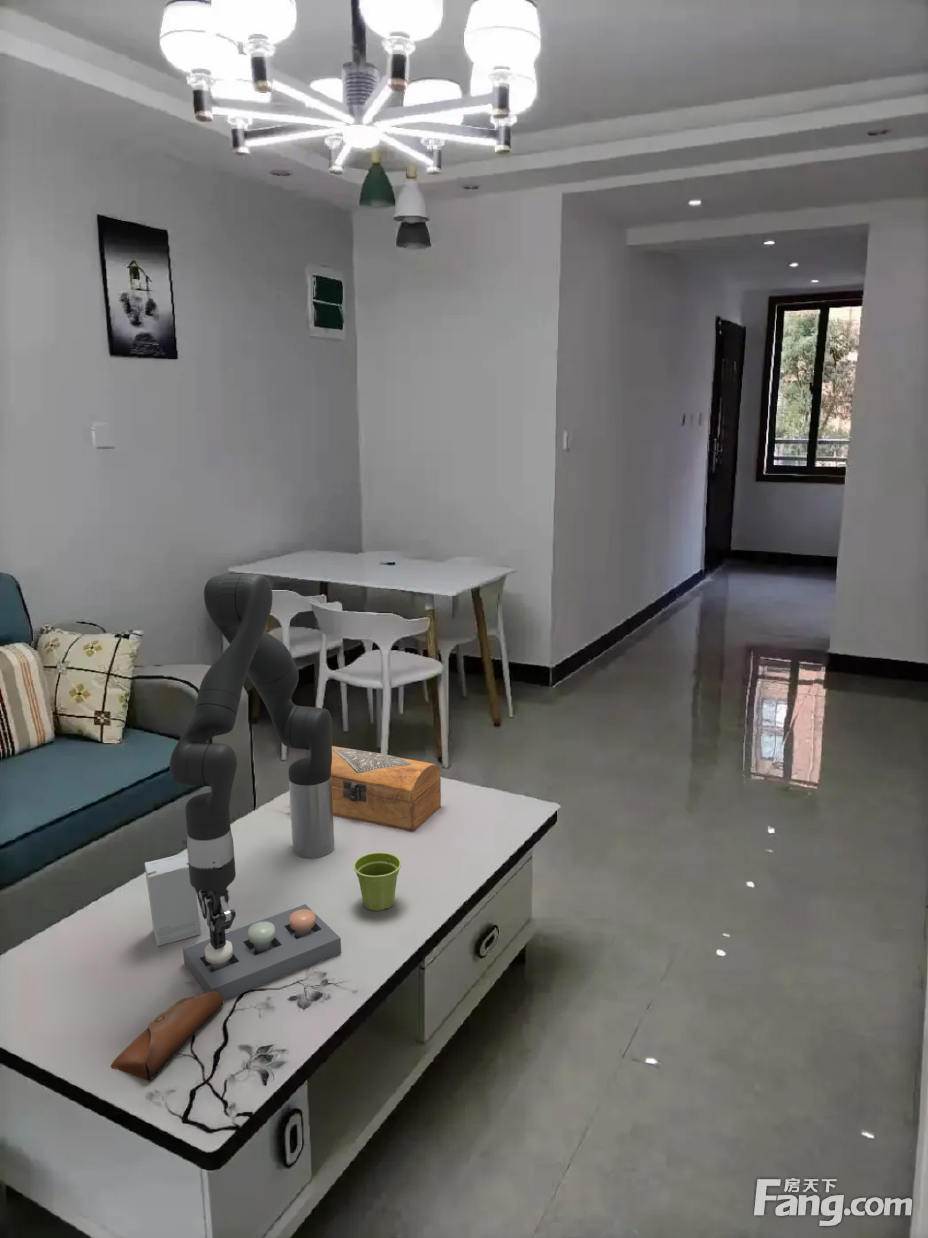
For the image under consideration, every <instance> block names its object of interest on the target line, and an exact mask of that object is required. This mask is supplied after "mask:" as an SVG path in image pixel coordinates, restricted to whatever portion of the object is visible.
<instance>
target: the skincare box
mask: <svg viewBox="0 0 928 1238" xmlns="http://www.w3.org/2000/svg"><path fill="white" fill-rule="evenodd" d="M144 871H145V876H146V886H147V893H148V899H149V900H148V901H149V907H150V913H151V914H150V915H151V921H152V929H153V930H152V931H153V933H154V936H155V937H154V938H155V941H156V945H157V947H159V946H163V945H167V944H170V943H173V942H177V941H180V940H181V941H182V940H184V939H188V938H192V937H195V936H200V935H201V933H202V930H201V923H200V914H199V905H198V904H199V902H198V897H197V893H196V891H195V888H194V887H193V886H192V885H191V883H190V876H189V865H188V853H187V852H183V853H179V854H176V855H172V856H168V857H164V858H159V859H156V860H152V861H151V860H150V861H145V862H144Z"/></svg>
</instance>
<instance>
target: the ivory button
mask: <svg viewBox="0 0 928 1238" xmlns="http://www.w3.org/2000/svg"><path fill="white" fill-rule="evenodd" d="M232 955H233V949H232V943H231V942H230V941H227V940H226V945H225V946H224V947H221V948H218V949H214V948H213V947H212V945H211V943H209V944H208V945H207V946H206V947H205V959H206V961H207V962H209V963H211V972H214V971H216V970H219V969H222V968H224V967H227V966H229V959H230V958H231V957H232Z"/></svg>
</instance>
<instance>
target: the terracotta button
mask: <svg viewBox="0 0 928 1238" xmlns="http://www.w3.org/2000/svg"><path fill="white" fill-rule="evenodd" d="M311 910H312V909H311ZM311 910H307V909H302V910H297V911H295V912H293V913H292V914H291V915H290V927H291V928H292V929H293V930H295V938H296V939H299V938H301V937H304V936H306V935H309V934H312V933H311V928H313V927H314V925H315V914H316V913H315V912H314V911H313V910H312V911H311Z"/></svg>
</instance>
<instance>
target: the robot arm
mask: <svg viewBox="0 0 928 1238" xmlns="http://www.w3.org/2000/svg"><path fill="white" fill-rule="evenodd" d="M203 597H204V600H203V601H204V605H205V606H204V607H205V608H206V611H207V613H208V616H209V618H210V620H211V621H212V623H213V624H214V626H215V627H216V628H217V629H218V631H219V632H220V633H221V634H222V636H223V638H225V639H226V641H227V642H228V644H229V645H228V646H227V648H226V649H224V651H223V652H222V653H221V654H220V656H219V657H218V658H216V660H215V661H214V662H213V663H212V664H211V666H210V668H208V670H207V672H206V673H205V674H204V676H203V678H202V679H201V682H200V686H199V689H198V693H197V698H196V700H195V705H194V710H193V712H192V713H193V714H192V716H191V718H190V719H189V721H188V724H187V725H186V728H185V729H184V731H183V733H182V735H181V737H180V738H179V740H178V741H177V743H176V745H175V746H174V749H173V751H172V753H171V756H170V760H169V773H170V777H171V779H172V780H173V781H174V782H175V783H176V784H178V785H180V786H181V785H182V786H189V787H190V786H191V787H192V786H194V787H208V788H209V787H210V789H211V791H210V792H206V793H200V794H197V795H195V796H192V797H191V798H190V799H189V800H188V801H187V802H186V805H185V809H184V810H185V822H186V823H185V824H186V833H187V840H186V851H187V852H186V853H188V865H189V876H190V883H191V885H192V886H193V887H194V888H195V891H196V895H197V901H198V904H199V905H200V910H201V913H202V917H203V919H204V920H206V925H207V927H208V930H209V939H210V942H211V945H212V947H213V948H214V949H218V948H221V947H224V946H225V945H226V937H225V933H226V930H229V929H231V927H232V925H233V922H234V921H235V918H236V916H237V915H236V911H235V909H234V908H233V909H230V907H229V901H230V891H229V890H228V887H229V886H230V885H231V884H232V883H233V882H234V881H235V879H236V874H237V873H236V863H235V862H236V861H235V848H234V847H235V846H234V837H233V833H232V829H231V814H230V805H231V804H230V801H231V794H232V789H233V783H234V781H235V780H234V779H235V775H236V772H237V768H238V767H237V766H238V757H237V755H236V753H235V751H234V749H233V748H232V747H231V746H230V745H228V744H225V743H215V742H214V743H211V742H208V741H209V740H210V739H211V738H214V737H217V736H221V735H226V734H228V733H230V732H231V731H232V730H233V729H234V727H235V724H236V719H237V715H238V710H239V707H240V706H239V705H240V701H241V698H242V697H241V696H242V694H243V693H242V692H243V688H244V684H245V681H246V678H247V676H248V678H249V680H250V682H252V685H253V686H254V688H255V689H256V691H257V692H258V695H259V696H260V698H261V700H262V702H263V704H264V705H265V708H266V710H267V712H268V713H269V716H270V718H271V722H272V724H273V726H274V729H275V733H276V735H277V737H278V739H279V741H280V742H281V744H282V745H284V746H285V747H286V748H290V749H295V750H297V749H299V750H307V751H310V756H307V757H303V758H301V759H298V760H296V761H294V762H292V763H291V764H290V766H289V767H288V785H289V787H288V788H289V803H290V805H289V806H290V807H289V808H290V823H291V841H292V842H291V843H292V851H293V853H294V854H295V855H296V856H298V857H301V858H305V859H315V858H321V857H325V856H327V855H329V854H330V853H332V852H333V850H334V849H335V832H334V831H335V827H334V816H333V801H332V780H331V765H332V746H333V719H332V716H331V713H330V711H329V710H328V709H326V708H323V707H315V706H314V707H313V706H304V705H303V706H301V705H297V704H295V703H294V702H293V700H292V699H291V697H292V696H293V694H294V692H295V690H296V688H297V686H298V683H299V680H300V676H299V675H300V673H299V668H298V667H297V664H296V663H295V662H296V661H295V660H294V658H293V656H292V654H291V652H290V650H289V649H288V647H287V646H286V644H284V643H283V642H282V641H280V640H279V639H278V638H277V637H275V636H273V635H272V634H271V633H269V632H267V631H266V630H265V629H266V626H267V624H268V621H269V618H270V615H271V611H272V606H273V590H272V585H271V583H270V581H269V579H268V578H267V577H266V576H265V575H263V574H260V573H233V574H232V573H230V574H228V573H226V574H219V575H214V576H212V577H210V578H209V579H208V580H207V582H206V584H205V586H204V589H203Z"/></svg>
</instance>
